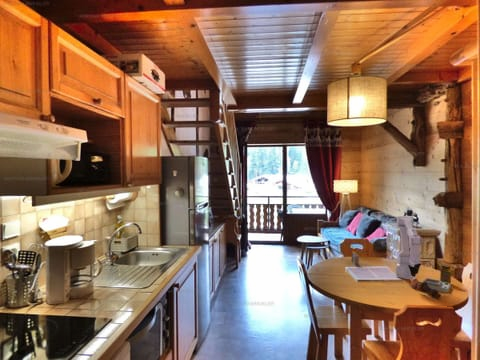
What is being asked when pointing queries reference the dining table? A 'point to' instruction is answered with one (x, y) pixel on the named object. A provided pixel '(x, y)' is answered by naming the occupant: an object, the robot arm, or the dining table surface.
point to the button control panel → (437, 285)
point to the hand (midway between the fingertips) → (414, 275)
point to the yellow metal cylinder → (445, 274)
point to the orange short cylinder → (414, 283)
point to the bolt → (429, 290)
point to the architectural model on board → (355, 258)
